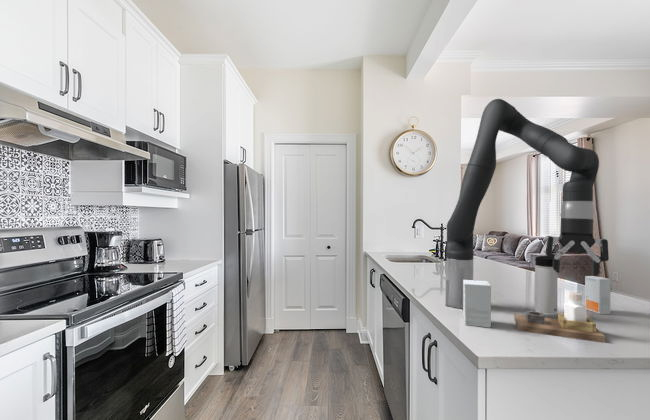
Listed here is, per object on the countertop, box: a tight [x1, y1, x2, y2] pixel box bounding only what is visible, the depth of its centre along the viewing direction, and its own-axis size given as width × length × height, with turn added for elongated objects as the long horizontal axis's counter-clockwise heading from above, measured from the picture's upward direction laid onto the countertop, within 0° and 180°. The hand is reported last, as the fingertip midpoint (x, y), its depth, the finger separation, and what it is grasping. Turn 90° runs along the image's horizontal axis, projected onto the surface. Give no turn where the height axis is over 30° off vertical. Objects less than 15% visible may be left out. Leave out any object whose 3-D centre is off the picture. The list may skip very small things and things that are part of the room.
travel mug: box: [534, 255, 558, 319], centre depth 112 cm, size 6×7×20 cm
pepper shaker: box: [563, 291, 588, 322], centre depth 96 cm, size 4×4×10 cm
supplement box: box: [462, 279, 492, 328], centre depth 104 cm, size 7×7×13 cm
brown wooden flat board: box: [513, 310, 606, 343], centre depth 98 cm, size 20×12×4 cm, turn 65°
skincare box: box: [584, 275, 612, 315], centre depth 117 cm, size 6×4×12 cm
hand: (575, 273), depth 96 cm, fingers open, 8 cm apart
